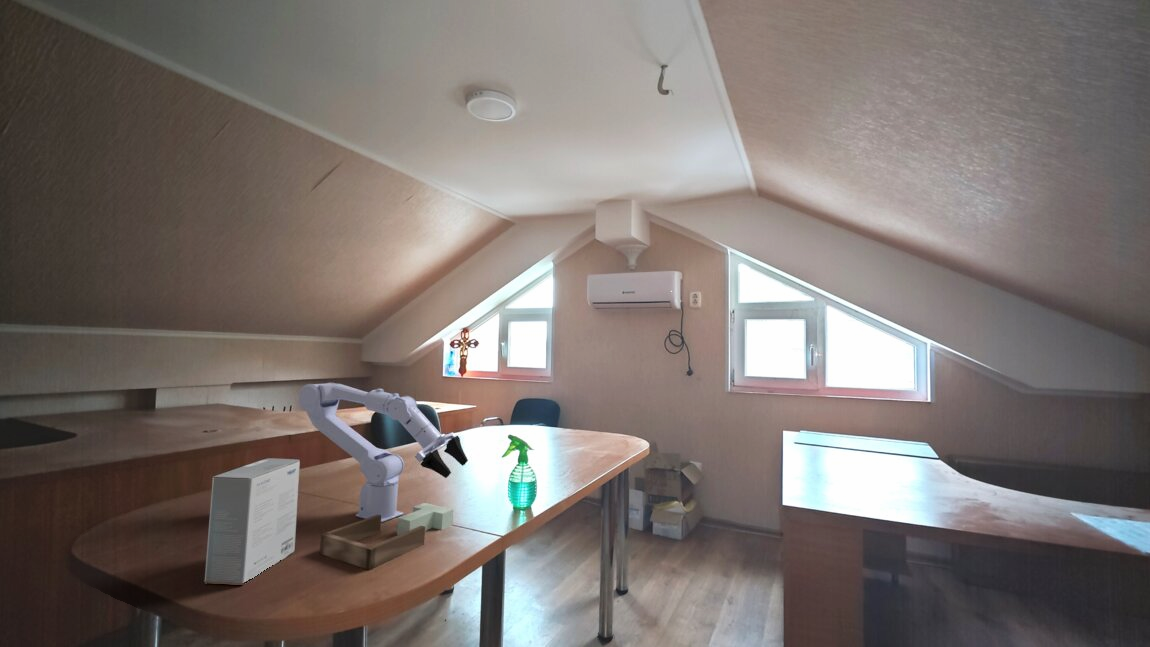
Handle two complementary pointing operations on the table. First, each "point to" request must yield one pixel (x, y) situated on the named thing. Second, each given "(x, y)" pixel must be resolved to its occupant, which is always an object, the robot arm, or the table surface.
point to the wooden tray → (365, 556)
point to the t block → (426, 518)
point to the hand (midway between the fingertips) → (457, 469)
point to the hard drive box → (251, 519)
